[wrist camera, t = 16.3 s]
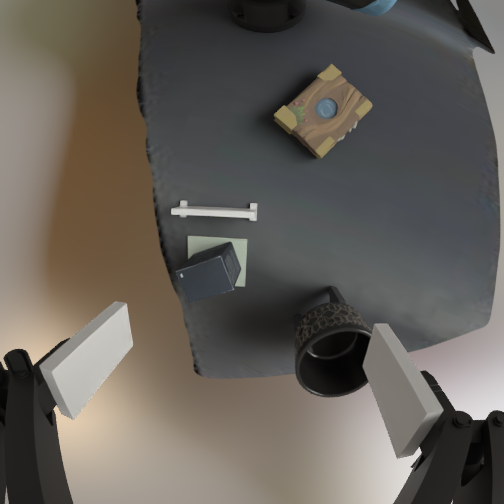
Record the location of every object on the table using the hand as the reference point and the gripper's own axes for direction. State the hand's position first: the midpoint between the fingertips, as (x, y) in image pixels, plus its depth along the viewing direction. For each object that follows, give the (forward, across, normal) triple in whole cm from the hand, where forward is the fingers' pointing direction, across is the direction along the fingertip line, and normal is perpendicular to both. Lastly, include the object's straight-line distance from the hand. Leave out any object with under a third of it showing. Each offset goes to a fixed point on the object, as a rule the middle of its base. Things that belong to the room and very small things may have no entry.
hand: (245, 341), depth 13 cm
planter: (+37, +12, -16) cm, 42 cm away
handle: (+37, -9, +2) cm, 38 cm away
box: (+36, -9, -7) cm, 38 cm away
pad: (+37, -9, -7) cm, 38 cm away
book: (+37, +9, +21) cm, 44 cm away
